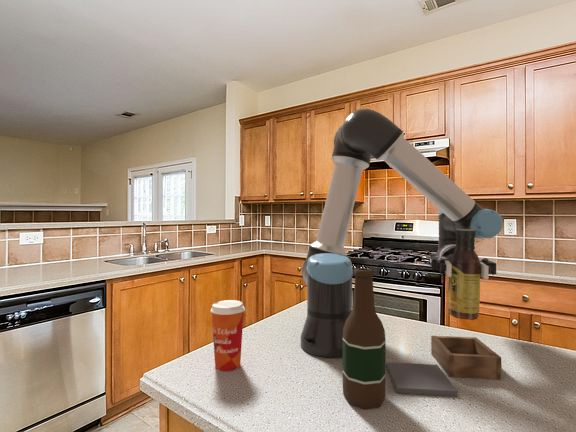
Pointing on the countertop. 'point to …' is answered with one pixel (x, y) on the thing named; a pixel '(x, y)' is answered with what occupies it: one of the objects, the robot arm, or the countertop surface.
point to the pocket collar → (465, 357)
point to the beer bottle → (364, 347)
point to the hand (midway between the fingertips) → (467, 271)
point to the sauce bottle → (464, 277)
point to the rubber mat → (420, 379)
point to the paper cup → (227, 333)
